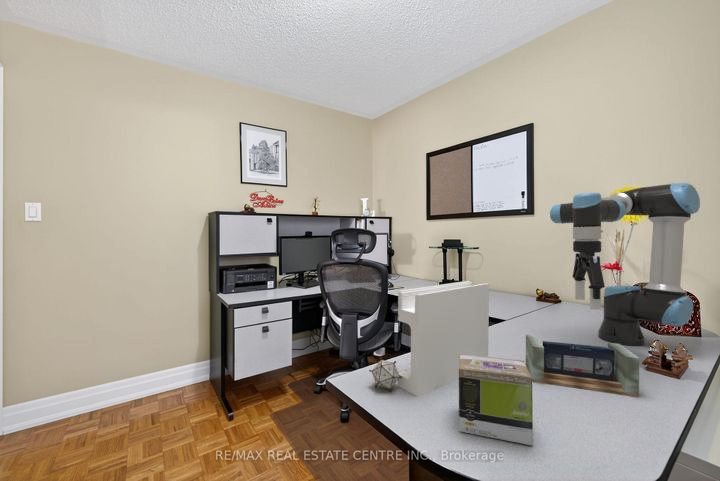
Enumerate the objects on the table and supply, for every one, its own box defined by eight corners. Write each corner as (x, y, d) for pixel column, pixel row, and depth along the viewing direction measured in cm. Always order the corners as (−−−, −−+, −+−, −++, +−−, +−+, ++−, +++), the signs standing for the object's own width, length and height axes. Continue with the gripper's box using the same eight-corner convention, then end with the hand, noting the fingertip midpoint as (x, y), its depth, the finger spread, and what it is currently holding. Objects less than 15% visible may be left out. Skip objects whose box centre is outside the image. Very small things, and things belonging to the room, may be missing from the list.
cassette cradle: (618, 378, 96) (619, 343, 96) (638, 397, 85) (639, 358, 85) (525, 365, 105) (525, 334, 105) (532, 381, 94) (532, 346, 93)
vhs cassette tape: (543, 374, 97) (543, 342, 97) (541, 370, 100) (542, 339, 99) (615, 384, 90) (615, 351, 90) (611, 380, 93) (611, 347, 93)
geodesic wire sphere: (384, 404, 88) (374, 385, 82) (371, 381, 95) (360, 362, 89) (410, 385, 89) (401, 365, 84) (395, 364, 96) (386, 345, 91)
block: (418, 396, 84) (418, 295, 84) (397, 385, 91) (398, 290, 90) (488, 365, 106) (489, 283, 105) (467, 357, 112) (468, 280, 111)
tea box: (524, 420, 74) (525, 359, 74) (533, 448, 64) (534, 377, 64) (458, 408, 79) (459, 351, 79) (457, 432, 69) (458, 367, 69)
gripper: (618, 241, 89) (618, 314, 90) (586, 238, 112) (586, 296, 113) (587, 242, 91) (587, 313, 92) (562, 239, 115) (562, 295, 116)
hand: (587, 304), depth 103 cm, fingers open, 13 cm apart
